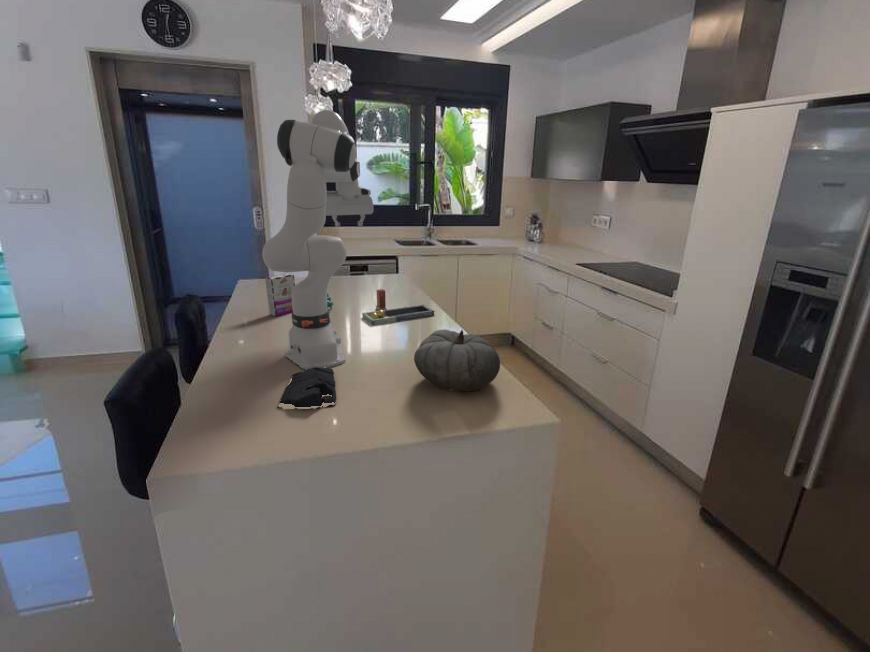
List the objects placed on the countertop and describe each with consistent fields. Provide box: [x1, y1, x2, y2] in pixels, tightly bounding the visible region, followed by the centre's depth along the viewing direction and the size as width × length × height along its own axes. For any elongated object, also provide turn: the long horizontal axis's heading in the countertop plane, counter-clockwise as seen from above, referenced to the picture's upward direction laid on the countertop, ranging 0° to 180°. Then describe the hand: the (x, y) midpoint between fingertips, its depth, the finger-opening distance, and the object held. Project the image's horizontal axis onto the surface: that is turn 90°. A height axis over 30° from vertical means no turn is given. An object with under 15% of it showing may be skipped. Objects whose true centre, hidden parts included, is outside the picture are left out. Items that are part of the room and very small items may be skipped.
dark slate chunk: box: [279, 367, 338, 407], centre depth 127 cm, size 15×22×5 cm
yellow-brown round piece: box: [376, 310, 386, 319], centre depth 187 cm, size 4×4×4 cm
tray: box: [362, 310, 397, 326], centre depth 185 cm, size 11×10×3 cm
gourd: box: [413, 328, 501, 392], centre depth 132 cm, size 25×25×17 cm
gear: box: [327, 293, 334, 310], centre depth 200 cm, size 11×6×10 cm
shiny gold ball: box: [370, 313, 380, 319], centre depth 184 cm, size 4×4×4 cm
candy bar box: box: [264, 272, 296, 317], centre depth 192 cm, size 11×5×16 cm, turn 143°
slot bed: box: [385, 304, 435, 322], centre depth 191 cm, size 10×18×3 cm, turn 119°
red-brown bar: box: [375, 288, 388, 311], centre depth 196 cm, size 6×3×10 cm, turn 30°
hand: (349, 226), depth 182 cm, fingers open, 8 cm apart
